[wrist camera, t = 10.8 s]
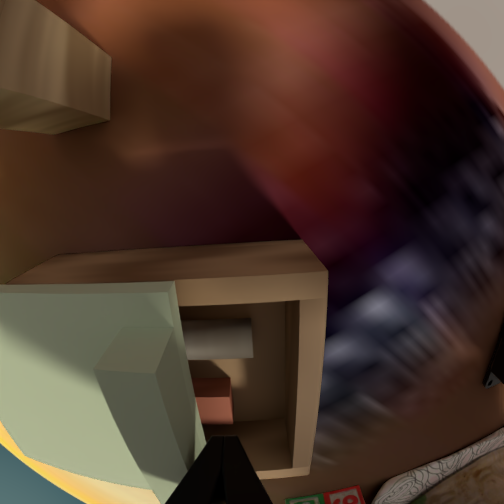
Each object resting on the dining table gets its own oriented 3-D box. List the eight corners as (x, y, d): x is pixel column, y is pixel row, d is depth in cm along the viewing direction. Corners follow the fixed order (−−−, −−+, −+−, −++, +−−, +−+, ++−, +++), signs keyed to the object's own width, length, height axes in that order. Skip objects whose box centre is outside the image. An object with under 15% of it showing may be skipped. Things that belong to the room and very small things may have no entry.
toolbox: (301, 239, 12) (328, 270, 8) (297, 418, 15) (308, 474, 11) (-12, 259, 12) (-59, 282, 8) (39, 402, 14) (13, 439, 11)
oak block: (120, 55, 10) (-6, -43, 1) (118, 118, 11) (-45, 67, 2) (50, 77, 10) (-86, 33, 1) (47, 136, 10) (-108, 131, 2)
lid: (174, 280, 8) (144, 332, 5) (216, 482, 11) (214, 530, 8) (-47, 283, 8) (-87, 306, 5) (30, 447, 10) (11, 478, 8)
